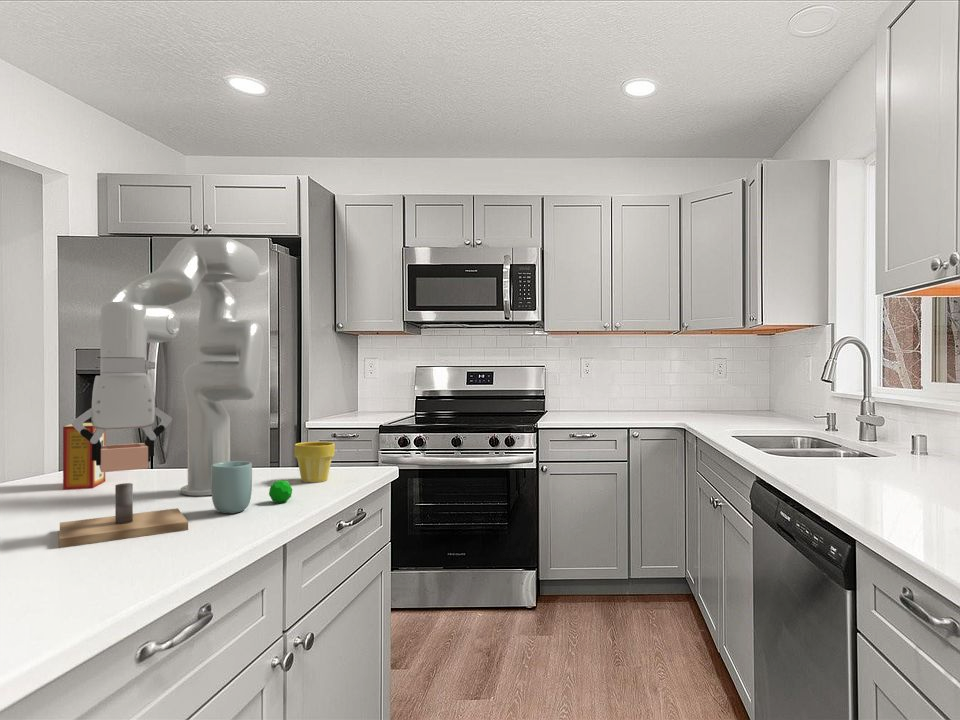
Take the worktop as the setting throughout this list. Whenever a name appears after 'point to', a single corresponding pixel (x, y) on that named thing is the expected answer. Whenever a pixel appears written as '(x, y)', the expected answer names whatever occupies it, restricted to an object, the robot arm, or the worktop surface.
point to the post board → (120, 530)
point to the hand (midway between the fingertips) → (123, 462)
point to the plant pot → (314, 460)
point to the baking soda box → (80, 460)
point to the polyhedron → (280, 491)
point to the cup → (231, 486)
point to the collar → (124, 457)
